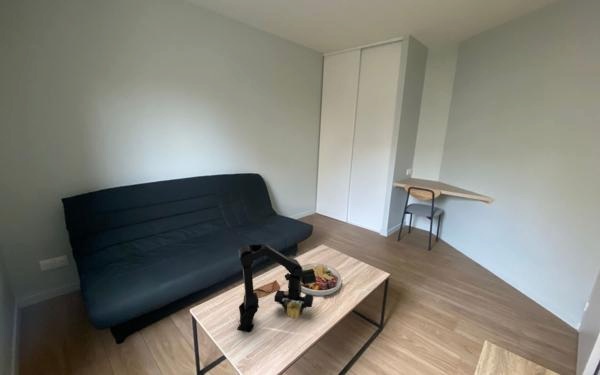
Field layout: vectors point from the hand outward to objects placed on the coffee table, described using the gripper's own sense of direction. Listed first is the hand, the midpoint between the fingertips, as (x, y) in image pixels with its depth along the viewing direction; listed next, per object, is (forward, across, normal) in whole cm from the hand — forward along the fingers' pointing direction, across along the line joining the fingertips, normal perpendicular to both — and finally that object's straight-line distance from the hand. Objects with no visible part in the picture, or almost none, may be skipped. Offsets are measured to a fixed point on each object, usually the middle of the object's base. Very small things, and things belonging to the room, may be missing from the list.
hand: (293, 313), depth 120 cm
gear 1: (0, +7, -8) cm, 11 cm away
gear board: (+1, +2, -8) cm, 9 cm away
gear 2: (+1, 0, 0) cm, 1 cm away
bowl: (+2, -8, -30) cm, 31 cm away
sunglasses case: (+2, +18, -14) cm, 23 cm away
